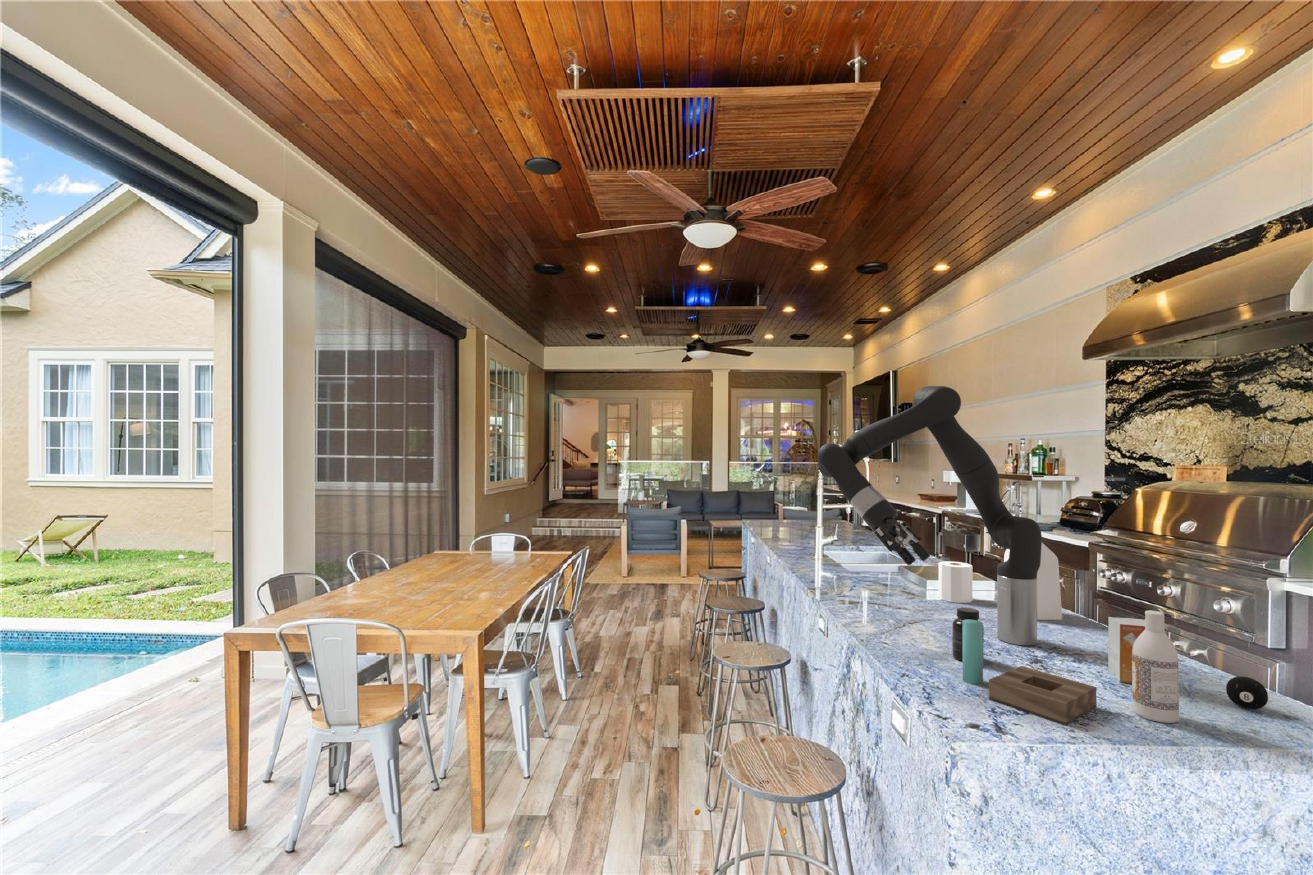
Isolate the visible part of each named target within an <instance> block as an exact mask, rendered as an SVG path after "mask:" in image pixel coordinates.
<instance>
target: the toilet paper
mask: <svg viewBox="0 0 1313 875" xmlns="http://www.w3.org/2000/svg"><path fill="white" fill-rule="evenodd" d="M973 592H974V590H973V565H972V564H969V563H966V562H962V561H951V560H950V561H947V560H946V561H940V562H938V598H939V599H941V600H942V601H945V602H950V603H957V604H958V603H959V604H968V603H972V602H973V599H974V598H973V595H974V594H973Z"/></svg>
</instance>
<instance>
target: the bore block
mask: <svg viewBox="0 0 1313 875" xmlns="http://www.w3.org/2000/svg"><path fill="white" fill-rule="evenodd" d="M988 700H990V701H992V702H996V703H998V704H1002V705H1004V706H1005V705H1006V706H1007V707H1011V708H1013V709H1017V710H1019V711H1022V712H1026V713H1029V714H1031V715H1034V716H1038V717H1040V718H1043V719H1046V720H1049V721H1052V722H1055V723H1058V724H1061V725H1064V726H1067V725H1069V724H1071V723H1072V722H1075V721H1076V720H1078V719H1079V718H1081V717H1082V716H1084V715H1086V714H1088V713H1089V712H1091V711H1092V710H1094V709H1096V708H1097V687H1096V686H1094V685H1090V684H1087V683H1083V682H1080V681H1076V680H1073V679H1069V678H1065V677H1062V676H1058V675H1056V674H1051V673H1048V672H1044V671H1041V670H1038V669H1033V668H1030V667H1027V666H1023V665H1020V666H1018V667H1016V668H1012V669H1011V670H1008V671H1006V672H1004V673H1001V674H999V675H997V676H993V677H992V678H990V679H988Z"/></svg>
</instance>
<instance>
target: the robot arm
mask: <svg viewBox="0 0 1313 875" xmlns="http://www.w3.org/2000/svg"><path fill="white" fill-rule="evenodd" d="M912 404H913V406H911V407H910V408H907V409H905V410H904V411H901V412H899V413H897V414H894V415H891V416H889V417H886V418H883V419H880V420H878V421H876V422H873V423H871V424H868V425H867V426H865V427H862V428H861V429H859V430H858V431H855V432H854V433H852V434H851V435H849V436H848V437H847V439H846V440H845V442H844V443H843V444H841V445H839V444H836V443H834V442H833V443H831V442H830V443H825V444H823V445H821V447H820V448H819V449H818V451H817V466H818V471H819V472H820V474H822V475H823V476H825V477H827V478H833V479H834V481H835V482H836V484H837V487H838V490H839V491H840V492H841V494H842V496H844V498H845V499H846V500H847V501H848V502H849V503H850V504H851V506H852V507H853V509H854V510H855V512H856V513H857V514H858V515H859V516H860V517H861V518H860V519H862V520H863V521H864V522H865V523H866V525H867V526H868V527H869V528H870V530H871V531H872V532H874V535H876V537H877V538H878V539H879V540H880V542H881V543H882V544H883V545H884V547H885V548H886V549H887V550H888V551H889V552H890V553H892V552H893V553H895V554H898V556H899V557H900V558H901V559H902V560H903V562H904V563H906V565H907V566H911V565H913V563H914V562H915V563H916V561H917V560H916V557H915V556H914V555H913V554H912V553H911V552H910V551H909V550H908V549H907V547H906V546H908V548H911V549H912V551H913V552H914V553H915V554H916V556H918V558H919V559H920V560H921V561H923V562H924V561H927V559H929V558H930V557H931V554H930V553H929V552H928V551H927V550H926V548H924V546H923V545H922V544H921V541H922V538H921V537H920V535H918V534H917V533H916V532H915V530H914V529H913V528H912V527H911V526H910V525H909V524H908V523H907V522H906V521H902V522H899V521H898V520H897V517H898V516H899V513H898V512H899V511H897V509H895V507H894V506H893V505H892V503H890V502H889V500H888V499H887V498H886V497H885V496H884V495H883V494H882V493H881V491H879V490H878V489H877V488H876V487H874V485H873V484H872V483H870V481H869V480H868V479H867V478H866V476H864V475H863V474H862V472H860V471H859V469H858V467H857V466H856V465H858V464H859V463H860V462H861V461H862V460H863V459H865V458H867V457H869V456H872V455H873V454H874V453H877V452H879V451H881V450H882V449H884V448H885V447H888V446H890V445H891V444H893V443H895V442H897V441H899V440H901V439H903V438H906V437H907V436H909V435H912V434H914V433H917V432H918V431H920V430H923V429H925V428H927V429H928V431H929V432H930V433H931V435H932V436H933V437H934V439H935V440H936V442H937V444H938V445H939V447H940V449H941V451H942V453H943V454H944V456H945V458H946V460H947V461H948V463H949V465H950V466H951V468H952V470H953V471H954V473H955V475H956V477H957V478H958V480H959V481H960V483H961V484H962V486H963V487H964V489H965V490H966V492H967V494H968V495H969V497H970V500H971V501H972V503H973V505H974V506H975V507H976V509H977V511H978V513H979V514H980V517H981V519H982V521H983V523H984V526H985V528H986V530H987V532H988V535H989V536H990V538H991V539H992V541H993V542H994V543H995V544H996V545H997V546H999V547H1000V548H1002V549H1006V550H1007V549H1010V552H1009V559H1008V560H1007V561H1006V562H1004V561H1002V562H999V563H998V564H997V567H996V585H997V586H996V588H997V589H996V590H997V591H996V595H997V596H996V598H997V600H996V602H997V603H996V604H997V606H996V608H997V609H996V610H997V611H996V612H997V613H996V614H997V616H996V617H997V618H996V620H997V624H996V625H997V627H996V628H997V633H996V634H997V639H998V640H1000V641H1002V642H1005V643H1009V644H1013V645H1018V646H1019V645H1020V646H1035V645H1037V644H1038V620H1037V572H1038V570H1039V567H1040V562H1041V545H1042V543H1043V541H1042V539H1043V537H1042V531H1041V527H1040V525H1039V524H1038V522H1036V521H1035V520H1034V519H1032V518H1029V517H1024V516H1016V515H1013V514H1012V513H1011V512H1010V511H1009V510H1008V508H1007V507H1006V505H1005V504H1004V502H1003V500H1002V498H1001V495H1000V477H999V476H1000V475H999V472H998V470H997V467H996V466H995V464H994V463H993V460H992V459H991V458H990V456H989V454H988V453H987V452H986V450H985V448H983V447H982V446H981V445H980V444H979V442H977V440H975V439H974V438H973V437H972V436H971V435H970V434H969V433H968V432H967V431H966V430H965V429H963V427H962V425H960V424H959V421H958V420H957V419H956V417H955V416H956V415H957V414H958V413H959V411H960V409H961V405H962V400H961V395H960V394H959V392H957V390H955V389H953V388H951V387H950V386H949V387H948V386H945V385H928V386H924V387H921V388H919V389H918V390H917V391H916V392H915V394H914V396H913V400H912ZM905 545H906V546H905Z"/></svg>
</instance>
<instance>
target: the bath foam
mask: <svg viewBox="0 0 1313 875" xmlns="http://www.w3.org/2000/svg"><path fill="white" fill-rule="evenodd" d="M1144 615H1145V619H1144V620H1145V630H1144V631H1143V632H1142V633H1141V634H1140V635H1139V636H1138V638H1137V639H1136V640H1135V642H1134V645H1133V649H1132V683H1131V684H1132V685H1131V686H1132V687H1131V688H1132V690H1131V691H1132V694H1131V695H1132V710H1133V712H1134V713H1135V714H1136V715H1138V716H1139V717H1142V718H1144V719H1146V720H1149V721H1153V722H1157V723H1162V724H1163V723H1164V724H1165V723H1166V724H1173V723H1177V722H1179V720H1180V683H1179V682H1180V680H1179V679H1180V675H1179V674H1180V672H1179V671H1180V669H1179V668H1180V665H1179V655H1178V654H1179V653H1178V651H1177V648H1176V647H1175V645H1174V643H1173V642H1172V641H1171V639H1170V638H1169V636H1168V635H1167V633H1166V632H1165V613H1164V612H1162V611H1157V610H1145V611H1144Z"/></svg>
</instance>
